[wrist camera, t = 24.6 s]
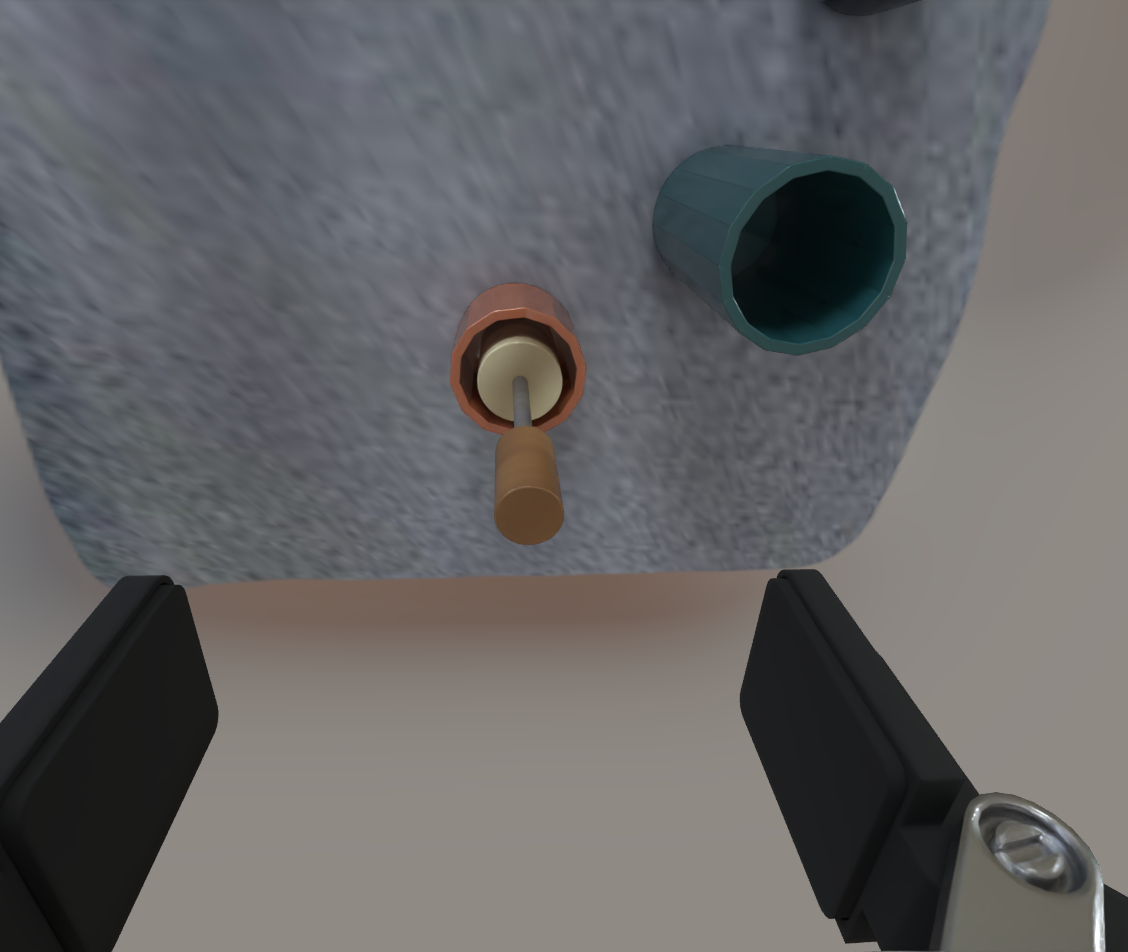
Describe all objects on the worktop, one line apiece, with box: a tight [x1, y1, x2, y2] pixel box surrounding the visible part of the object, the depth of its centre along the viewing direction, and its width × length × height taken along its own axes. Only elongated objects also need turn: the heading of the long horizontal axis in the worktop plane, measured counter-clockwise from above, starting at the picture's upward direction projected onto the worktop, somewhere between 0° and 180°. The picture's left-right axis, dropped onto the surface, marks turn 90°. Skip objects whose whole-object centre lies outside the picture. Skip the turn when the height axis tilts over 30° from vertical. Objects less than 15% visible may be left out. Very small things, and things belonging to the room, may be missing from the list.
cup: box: [653, 145, 907, 355], centre depth 31 cm, size 7×7×13 cm
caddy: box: [450, 283, 587, 435], centre depth 37 cm, size 7×7×6 cm
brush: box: [477, 317, 564, 545], centre depth 31 cm, size 4×4×19 cm
